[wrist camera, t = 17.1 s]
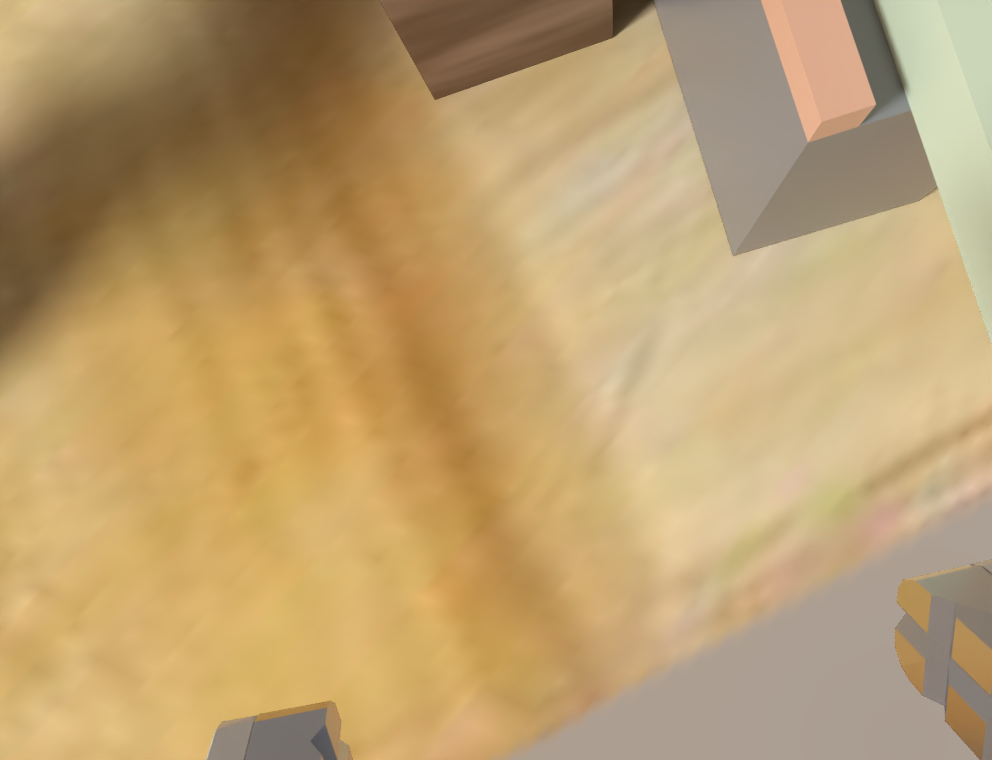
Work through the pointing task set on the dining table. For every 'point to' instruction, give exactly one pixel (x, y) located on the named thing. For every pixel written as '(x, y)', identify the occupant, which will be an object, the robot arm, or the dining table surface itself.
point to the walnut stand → (492, 36)
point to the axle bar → (952, 115)
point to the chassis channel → (795, 113)
